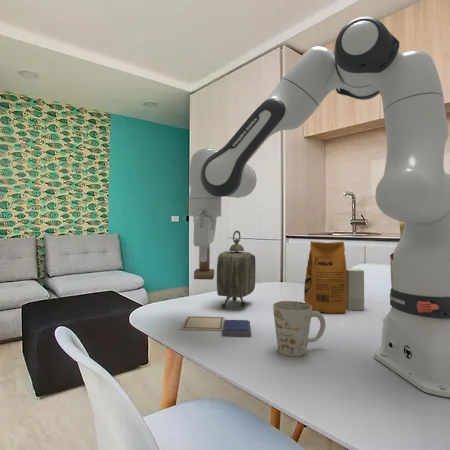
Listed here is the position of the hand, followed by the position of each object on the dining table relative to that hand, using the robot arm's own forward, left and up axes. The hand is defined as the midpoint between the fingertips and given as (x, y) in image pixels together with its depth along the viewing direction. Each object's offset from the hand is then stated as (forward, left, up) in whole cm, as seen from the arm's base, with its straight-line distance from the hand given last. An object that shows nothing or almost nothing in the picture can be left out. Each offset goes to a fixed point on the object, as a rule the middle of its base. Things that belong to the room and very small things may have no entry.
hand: (204, 260), depth 91 cm
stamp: (0, 0, -5) cm, 5 cm away
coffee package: (+17, -37, -18) cm, 44 cm away
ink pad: (-5, -9, -17) cm, 20 cm away
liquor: (+5, -56, -18) cm, 59 cm away
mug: (-17, -23, -18) cm, 34 cm away
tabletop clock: (+20, -9, -18) cm, 28 cm away
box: (+19, -47, -18) cm, 54 cm away
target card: (0, 0, -17) cm, 17 cm away
